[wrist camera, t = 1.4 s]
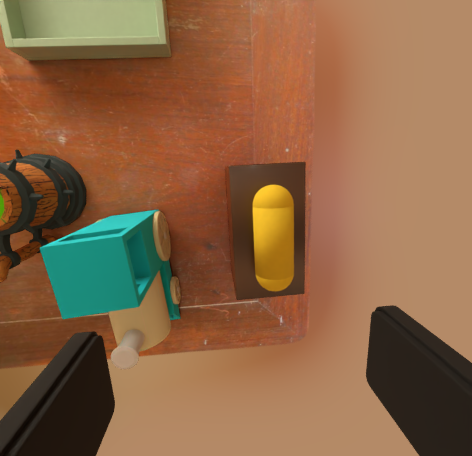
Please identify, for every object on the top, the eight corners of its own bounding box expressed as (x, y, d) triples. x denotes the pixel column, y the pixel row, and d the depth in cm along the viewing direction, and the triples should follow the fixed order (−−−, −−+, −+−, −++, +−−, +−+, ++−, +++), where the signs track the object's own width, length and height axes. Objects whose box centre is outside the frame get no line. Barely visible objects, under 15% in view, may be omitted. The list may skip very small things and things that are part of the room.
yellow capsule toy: (249, 184, 26) (255, 187, 22) (287, 182, 26) (299, 184, 23) (253, 282, 29) (259, 300, 25) (287, 279, 29) (299, 296, 25)
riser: (224, 167, 34) (228, 165, 26) (282, 163, 35) (305, 161, 26) (231, 270, 38) (236, 300, 29) (283, 265, 38) (304, 294, 30)
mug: (-4, 154, 32) (-124, 145, 20) (80, 149, 32) (10, 138, 21) (22, 253, 35) (-70, 293, 23) (99, 246, 35) (46, 282, 24)
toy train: (134, 322, 38) (85, 416, 24) (107, 215, 34) (29, 249, 20) (186, 314, 39) (170, 401, 24) (165, 207, 35) (131, 234, 20)
